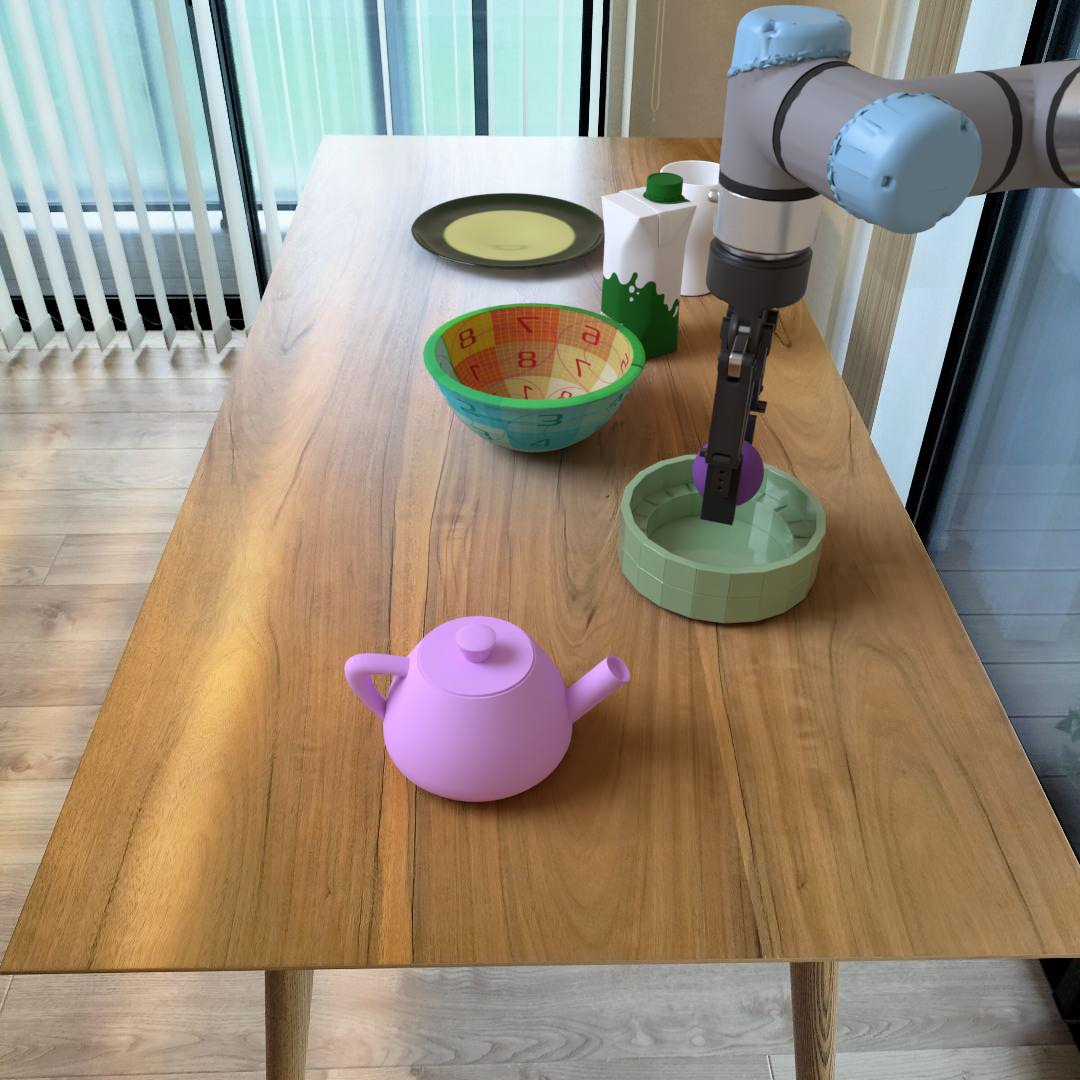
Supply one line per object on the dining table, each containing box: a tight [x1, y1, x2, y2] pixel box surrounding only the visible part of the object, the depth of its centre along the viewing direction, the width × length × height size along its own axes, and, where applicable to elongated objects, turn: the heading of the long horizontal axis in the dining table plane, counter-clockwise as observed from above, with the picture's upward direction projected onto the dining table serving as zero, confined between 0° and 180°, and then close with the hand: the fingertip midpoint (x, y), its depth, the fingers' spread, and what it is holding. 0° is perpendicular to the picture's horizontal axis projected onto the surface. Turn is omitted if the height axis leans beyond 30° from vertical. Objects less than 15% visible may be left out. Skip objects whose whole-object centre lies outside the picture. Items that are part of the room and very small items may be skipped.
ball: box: [692, 440, 764, 506], centre depth 92 cm, size 6×6×6 cm
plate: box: [410, 192, 605, 271], centre depth 155 cm, size 28×28×2 cm
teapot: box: [343, 615, 631, 803], centre depth 77 cm, size 14×20×11 cm
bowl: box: [422, 302, 646, 454], centre depth 111 cm, size 22×22×10 cm
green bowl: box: [616, 453, 827, 624], centre depth 96 cm, size 18×18×6 cm
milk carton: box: [599, 172, 697, 360], centre depth 125 cm, size 9×9×20 cm
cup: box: [659, 160, 720, 297], centre depth 141 cm, size 11×11×15 cm
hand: (724, 497), depth 93 cm, fingers closed on ball, 6 cm apart
